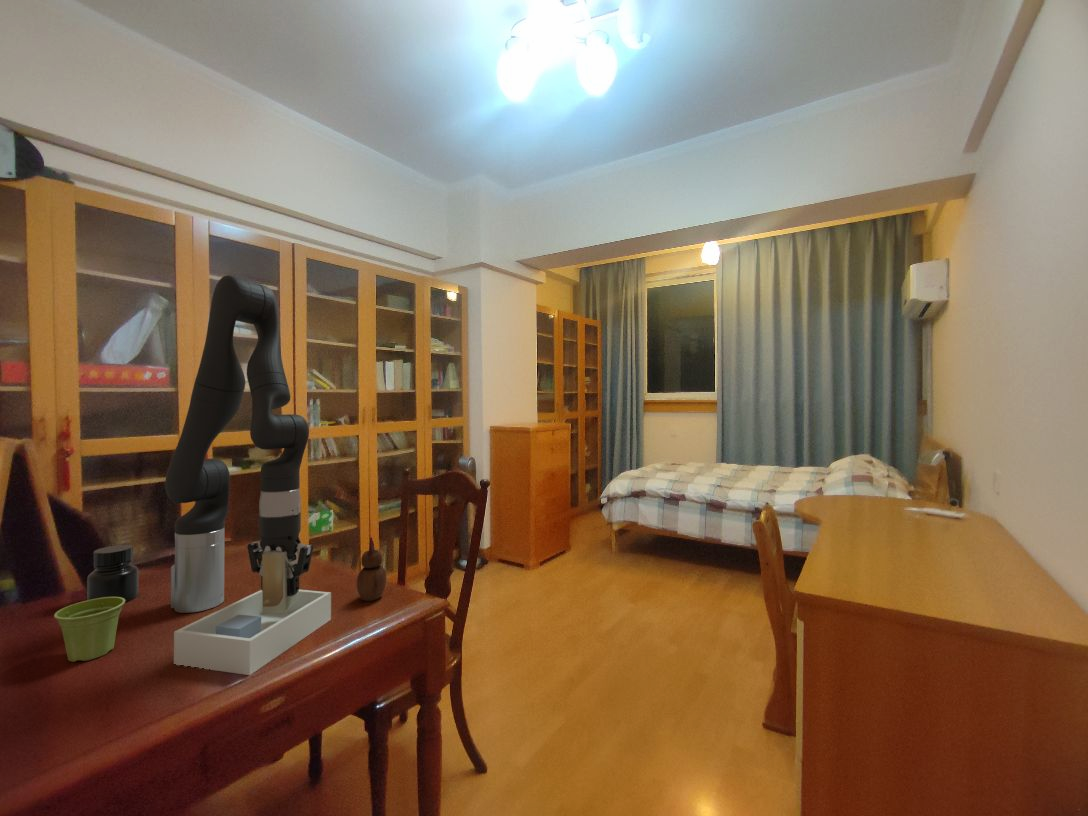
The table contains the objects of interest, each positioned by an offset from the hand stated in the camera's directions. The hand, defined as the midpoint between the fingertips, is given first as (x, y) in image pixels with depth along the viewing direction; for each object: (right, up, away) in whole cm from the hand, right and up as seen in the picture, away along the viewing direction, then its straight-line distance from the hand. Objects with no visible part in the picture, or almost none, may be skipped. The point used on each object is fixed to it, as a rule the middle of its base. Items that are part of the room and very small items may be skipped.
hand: (280, 593), depth 98 cm
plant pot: (-29, -7, -11) cm, 32 cm away
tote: (-1, -7, -5) cm, 9 cm away
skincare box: (0, -3, 0) cm, 3 cm away
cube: (-2, -6, -10) cm, 12 cm away
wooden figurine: (+13, -7, +16) cm, 22 cm away
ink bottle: (-46, -7, +13) cm, 49 cm away
